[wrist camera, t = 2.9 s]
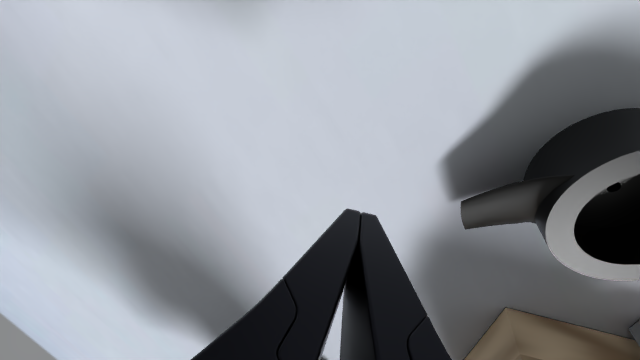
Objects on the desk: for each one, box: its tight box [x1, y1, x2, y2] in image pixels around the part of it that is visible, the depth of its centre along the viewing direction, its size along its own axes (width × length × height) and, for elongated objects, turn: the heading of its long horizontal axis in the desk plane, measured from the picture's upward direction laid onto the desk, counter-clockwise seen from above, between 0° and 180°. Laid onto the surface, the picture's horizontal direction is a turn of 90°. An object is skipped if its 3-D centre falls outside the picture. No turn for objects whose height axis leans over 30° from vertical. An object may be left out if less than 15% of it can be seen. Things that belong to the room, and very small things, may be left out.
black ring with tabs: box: [461, 108, 640, 281], centre depth 12 cm, size 8×10×3 cm
